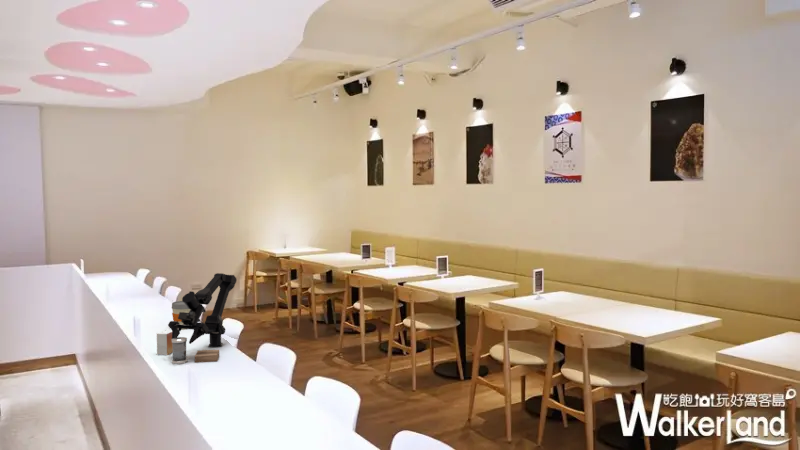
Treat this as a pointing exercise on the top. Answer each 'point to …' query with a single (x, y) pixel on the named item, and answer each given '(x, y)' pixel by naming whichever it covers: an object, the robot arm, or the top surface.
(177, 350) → the cylinder
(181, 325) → the robot arm
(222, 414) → the top surface
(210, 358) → the stand
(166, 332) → the small box
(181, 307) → the reusable coffee cup
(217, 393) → the top surface
